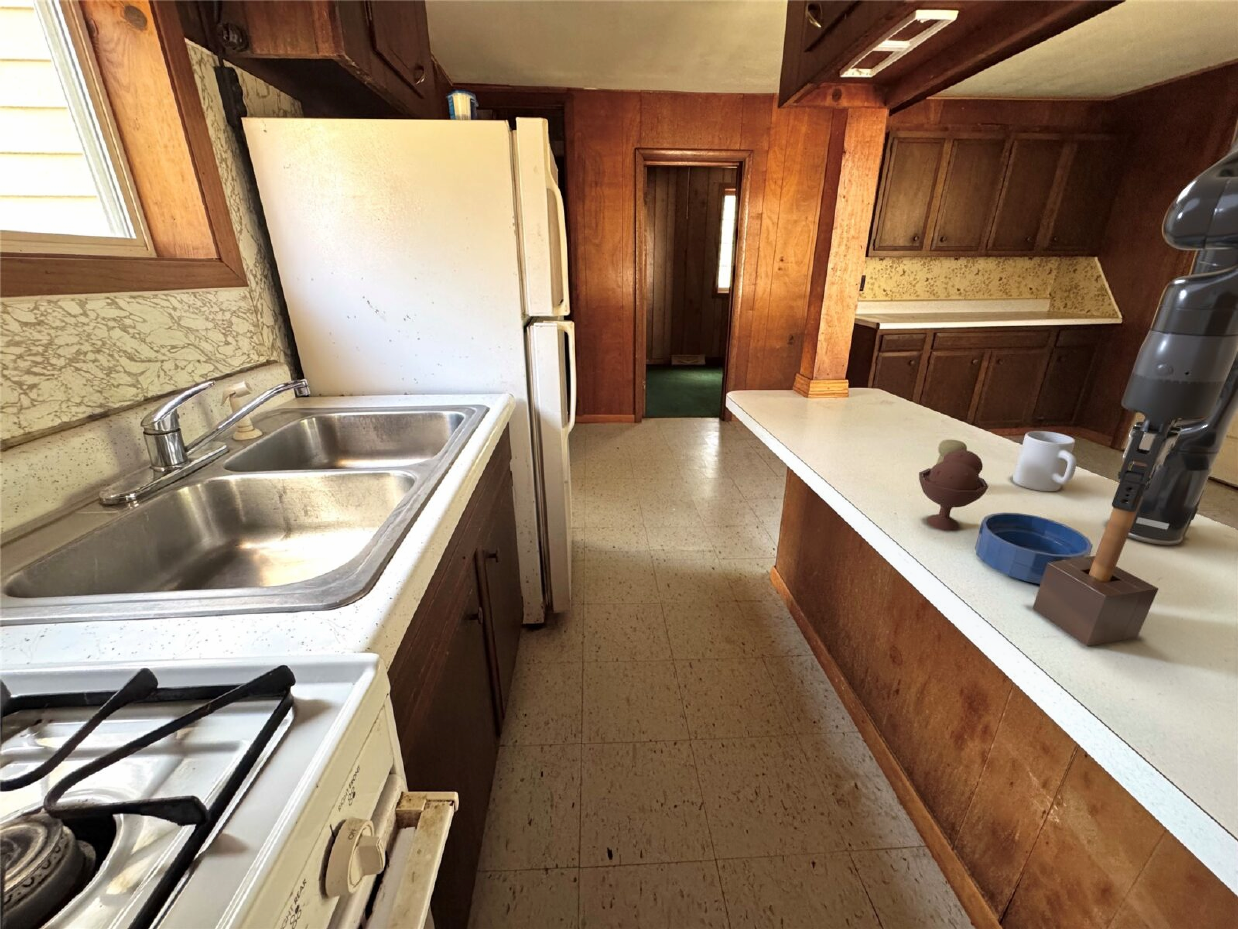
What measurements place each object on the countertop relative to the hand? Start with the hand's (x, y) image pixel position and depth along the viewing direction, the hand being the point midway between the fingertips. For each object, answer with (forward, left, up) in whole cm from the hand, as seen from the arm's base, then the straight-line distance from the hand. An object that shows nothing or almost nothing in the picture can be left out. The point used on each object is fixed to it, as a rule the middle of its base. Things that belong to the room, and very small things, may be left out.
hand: (1129, 498), depth 65 cm
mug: (-34, -38, -20) cm, 55 cm away
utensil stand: (0, 0, -20) cm, 20 cm away
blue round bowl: (-5, -14, -20) cm, 24 cm away
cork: (-14, -43, -20) cm, 49 cm away
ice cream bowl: (-2, -29, -20) cm, 35 cm away
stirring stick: (0, 0, -20) cm, 20 cm away
